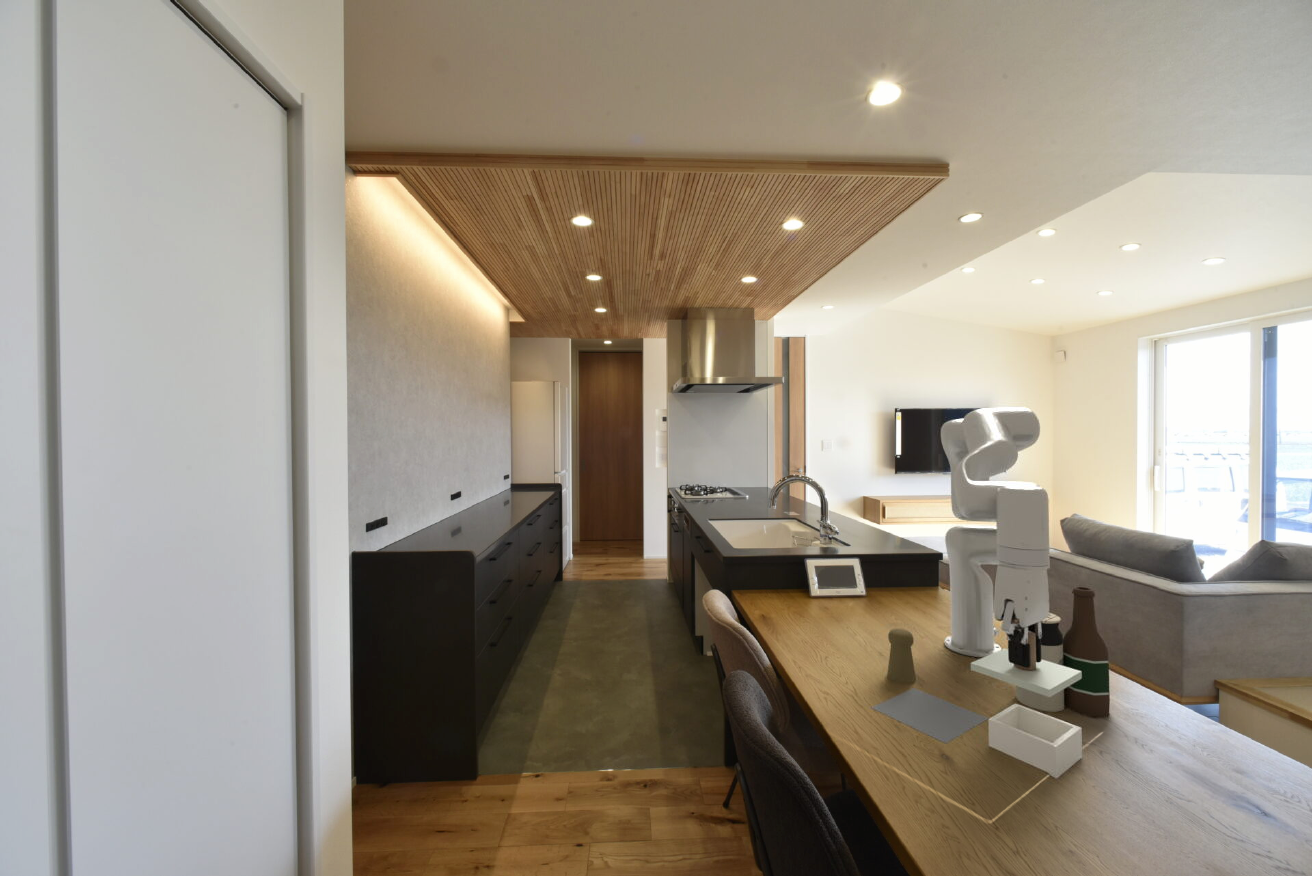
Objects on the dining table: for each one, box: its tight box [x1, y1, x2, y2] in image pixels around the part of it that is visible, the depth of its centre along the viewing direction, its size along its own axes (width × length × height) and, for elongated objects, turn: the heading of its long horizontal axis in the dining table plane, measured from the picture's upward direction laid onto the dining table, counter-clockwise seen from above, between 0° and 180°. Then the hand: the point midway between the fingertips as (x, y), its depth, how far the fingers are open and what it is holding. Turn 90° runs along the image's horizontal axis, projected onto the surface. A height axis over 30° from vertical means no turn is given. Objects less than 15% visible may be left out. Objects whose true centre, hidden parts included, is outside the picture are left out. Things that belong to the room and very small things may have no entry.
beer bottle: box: [1063, 586, 1111, 719], centre depth 104 cm, size 8×8×24 cm
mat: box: [870, 687, 990, 744], centre depth 102 cm, size 15×15×1 cm
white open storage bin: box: [987, 703, 1083, 779], centre depth 90 cm, size 10×10×5 cm
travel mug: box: [1014, 612, 1065, 713], centre depth 106 cm, size 8×8×18 cm
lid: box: [970, 629, 1082, 697], centre depth 91 cm, size 12×12×7 cm
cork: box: [886, 628, 917, 685], centre depth 118 cm, size 6×6×11 cm
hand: (1024, 661), depth 91 cm, fingers closed on lid, 3 cm apart
